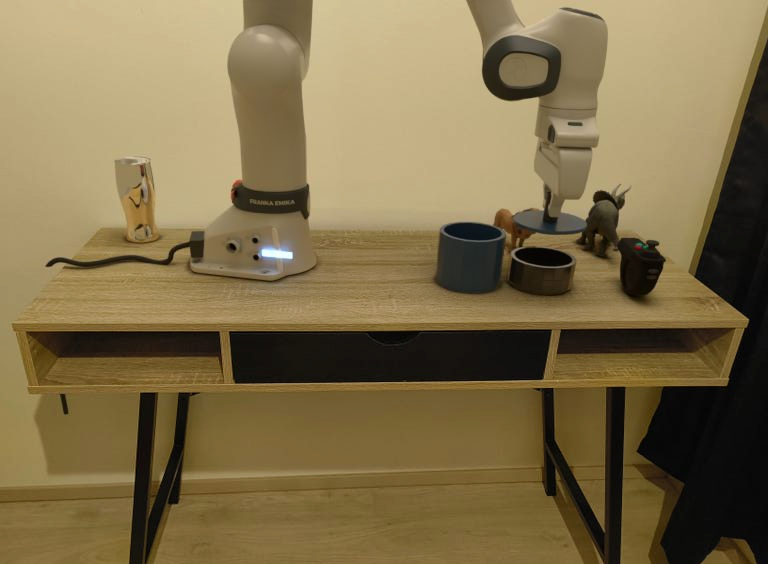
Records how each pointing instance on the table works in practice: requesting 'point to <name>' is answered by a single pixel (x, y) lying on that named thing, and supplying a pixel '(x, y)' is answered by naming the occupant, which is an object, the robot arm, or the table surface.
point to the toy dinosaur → (603, 221)
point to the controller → (639, 265)
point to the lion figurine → (512, 227)
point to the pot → (470, 257)
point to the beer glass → (137, 197)
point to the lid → (549, 221)
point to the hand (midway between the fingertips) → (550, 212)
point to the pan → (541, 270)
